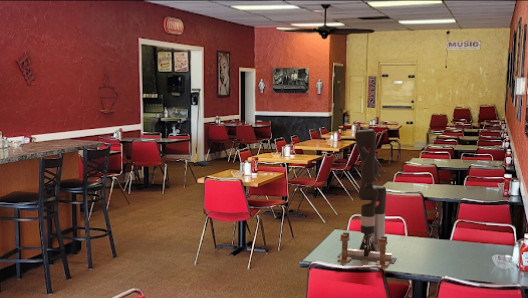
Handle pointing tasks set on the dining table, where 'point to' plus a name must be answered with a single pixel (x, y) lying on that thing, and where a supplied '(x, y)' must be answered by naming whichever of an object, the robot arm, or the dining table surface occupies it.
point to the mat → (370, 259)
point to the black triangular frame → (370, 248)
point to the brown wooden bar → (370, 254)
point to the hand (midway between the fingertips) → (367, 254)
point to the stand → (346, 259)
